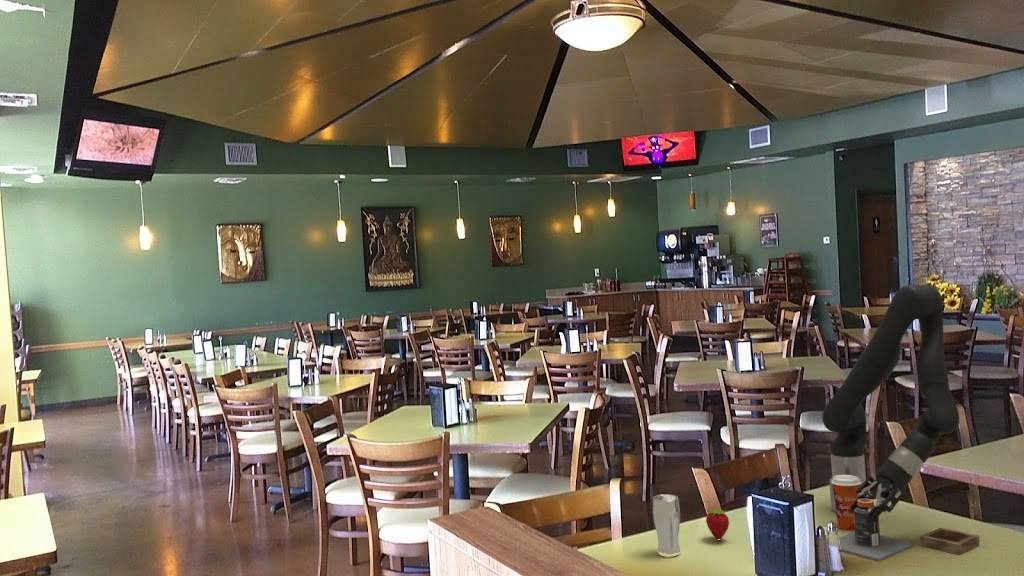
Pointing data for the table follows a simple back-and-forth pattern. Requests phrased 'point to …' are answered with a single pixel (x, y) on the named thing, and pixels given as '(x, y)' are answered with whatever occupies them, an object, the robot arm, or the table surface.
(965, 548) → the holder collar
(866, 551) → the rubber mat
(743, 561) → the table surface
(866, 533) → the pill bottle
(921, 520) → the table surface
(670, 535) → the beer glass
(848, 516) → the paper cup
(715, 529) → the strawberry
